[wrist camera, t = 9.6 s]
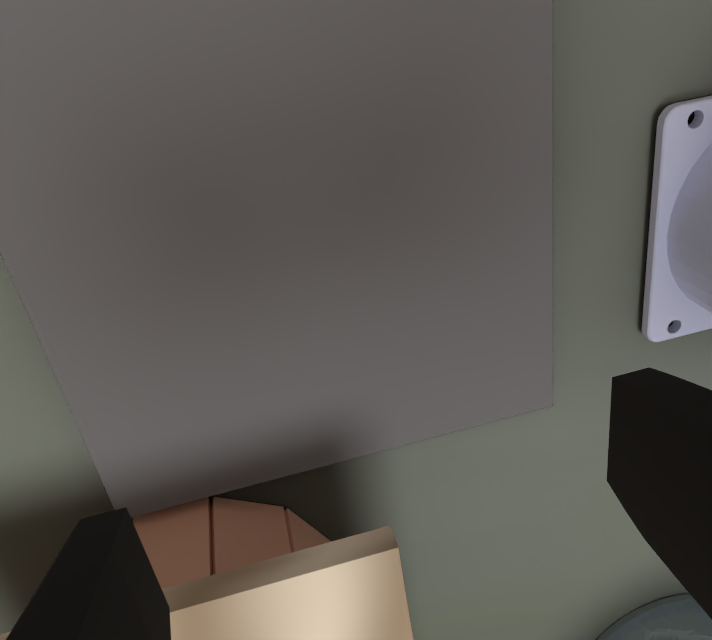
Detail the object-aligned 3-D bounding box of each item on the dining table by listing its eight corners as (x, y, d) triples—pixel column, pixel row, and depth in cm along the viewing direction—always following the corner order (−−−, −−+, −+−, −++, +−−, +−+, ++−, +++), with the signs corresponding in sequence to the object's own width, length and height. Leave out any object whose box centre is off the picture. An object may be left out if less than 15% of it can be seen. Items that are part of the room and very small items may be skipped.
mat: (540, -97, 16) (552, -100, 15) (544, 396, 23) (552, 405, 22) (-98, 5, 14) (-110, 6, 13) (121, 507, 21) (119, 520, 21)
